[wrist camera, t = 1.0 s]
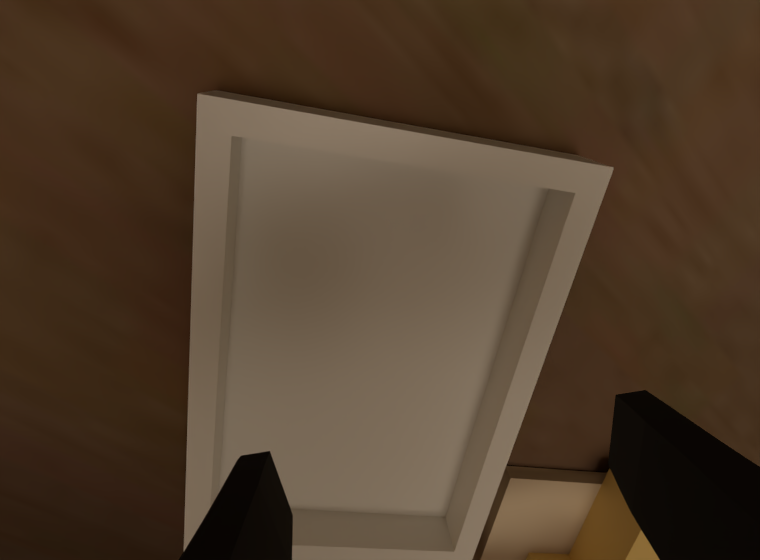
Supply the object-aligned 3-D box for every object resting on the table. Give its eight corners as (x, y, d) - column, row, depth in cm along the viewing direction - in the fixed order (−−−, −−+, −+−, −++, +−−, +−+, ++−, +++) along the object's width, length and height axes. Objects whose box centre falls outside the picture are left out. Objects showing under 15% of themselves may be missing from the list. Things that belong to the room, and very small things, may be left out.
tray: (457, 522, 25) (469, 567, 23) (198, 508, 23) (183, 556, 21) (578, 154, 18) (614, 167, 16) (216, 90, 16) (197, 93, 14)
